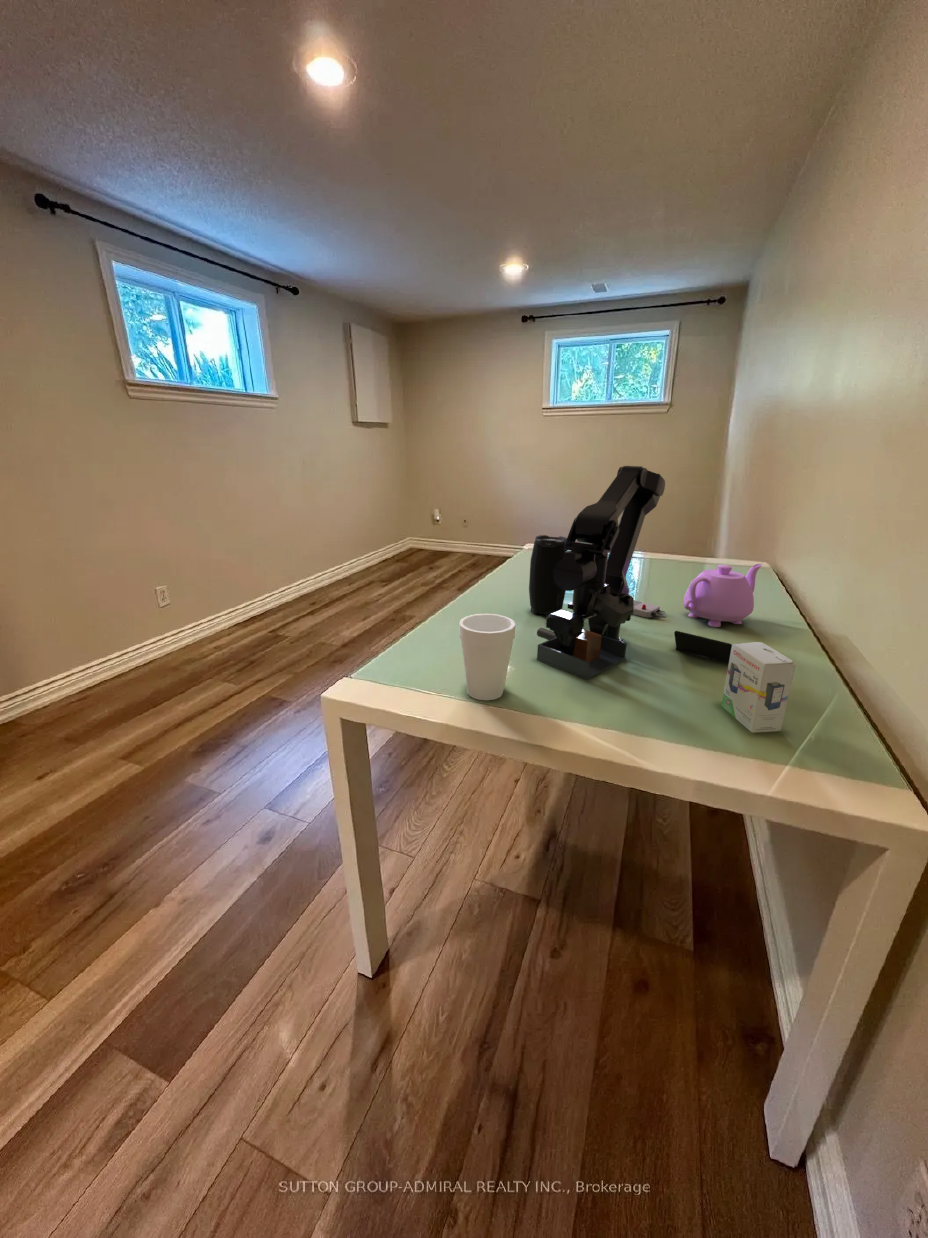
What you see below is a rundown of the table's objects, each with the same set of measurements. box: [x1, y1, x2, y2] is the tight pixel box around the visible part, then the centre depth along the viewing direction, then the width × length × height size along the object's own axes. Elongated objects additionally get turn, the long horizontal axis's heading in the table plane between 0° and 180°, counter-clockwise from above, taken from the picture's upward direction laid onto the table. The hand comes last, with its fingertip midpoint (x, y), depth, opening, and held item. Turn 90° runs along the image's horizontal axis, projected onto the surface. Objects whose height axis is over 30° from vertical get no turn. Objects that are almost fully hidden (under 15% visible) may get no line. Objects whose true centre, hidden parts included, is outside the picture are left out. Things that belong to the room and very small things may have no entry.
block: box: [573, 628, 602, 662], centre depth 99 cm, size 5×5×5 cm
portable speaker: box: [528, 534, 568, 617], centre depth 123 cm, size 9×9×20 cm
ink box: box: [720, 641, 797, 734], centre depth 77 cm, size 9×5×12 cm, turn 5°
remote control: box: [631, 599, 667, 619], centre depth 128 cm, size 7×16×3 cm, turn 45°
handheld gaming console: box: [673, 630, 733, 665], centre depth 101 cm, size 12×7×10 cm
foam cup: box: [458, 613, 516, 701], centre depth 85 cm, size 10×9×13 cm
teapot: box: [683, 563, 763, 628], centre depth 122 cm, size 22×16×14 cm
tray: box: [536, 627, 628, 681], centre depth 101 cm, size 14×17×4 cm
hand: (582, 653), depth 99 cm, fingers open, 9 cm apart
